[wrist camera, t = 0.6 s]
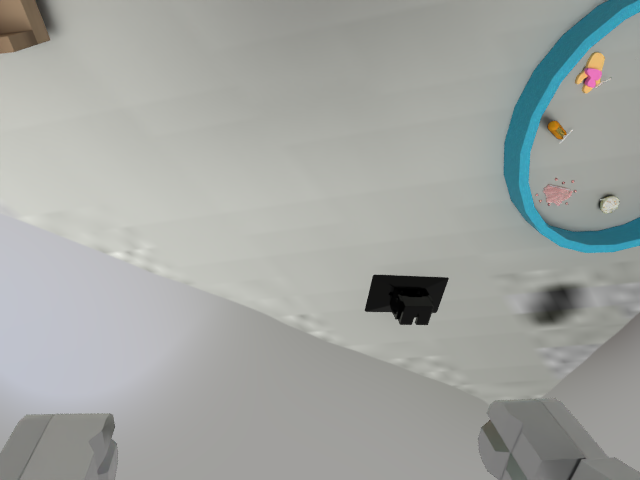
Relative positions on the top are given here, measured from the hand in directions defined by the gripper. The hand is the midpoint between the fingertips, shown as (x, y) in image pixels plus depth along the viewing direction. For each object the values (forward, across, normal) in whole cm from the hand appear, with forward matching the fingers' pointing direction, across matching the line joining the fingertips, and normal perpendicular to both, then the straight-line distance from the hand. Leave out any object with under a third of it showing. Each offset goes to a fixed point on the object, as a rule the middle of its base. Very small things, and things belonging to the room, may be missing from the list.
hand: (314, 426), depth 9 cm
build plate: (+42, -21, +22) cm, 52 cm away
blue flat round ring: (+39, -42, -2) cm, 57 cm away
